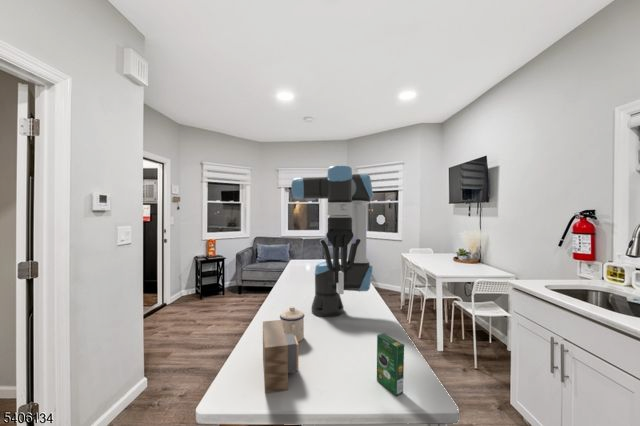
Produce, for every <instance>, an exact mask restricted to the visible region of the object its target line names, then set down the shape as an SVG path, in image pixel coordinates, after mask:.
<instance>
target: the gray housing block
mask: <svg viewBox="0 0 640 426" xmlns="http://www.w3.org/2000/svg"><path fill="white" fill-rule="evenodd" d="M285 336H286V340H287V344H288V374H290V373H295V372H296V373H297V372H298V371H297V370H298V369H299V342H297V339H296V336H294V334H285Z"/></svg>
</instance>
